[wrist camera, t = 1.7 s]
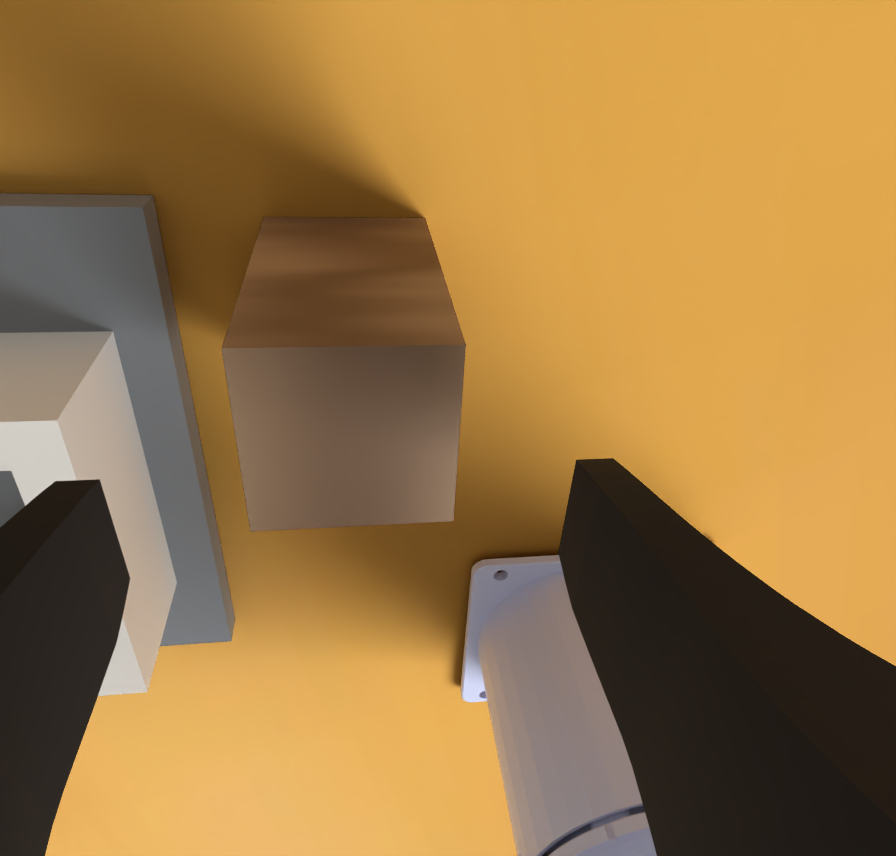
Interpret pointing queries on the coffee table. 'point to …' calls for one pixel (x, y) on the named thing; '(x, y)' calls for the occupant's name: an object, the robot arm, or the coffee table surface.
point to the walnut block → (345, 375)
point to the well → (109, 409)
